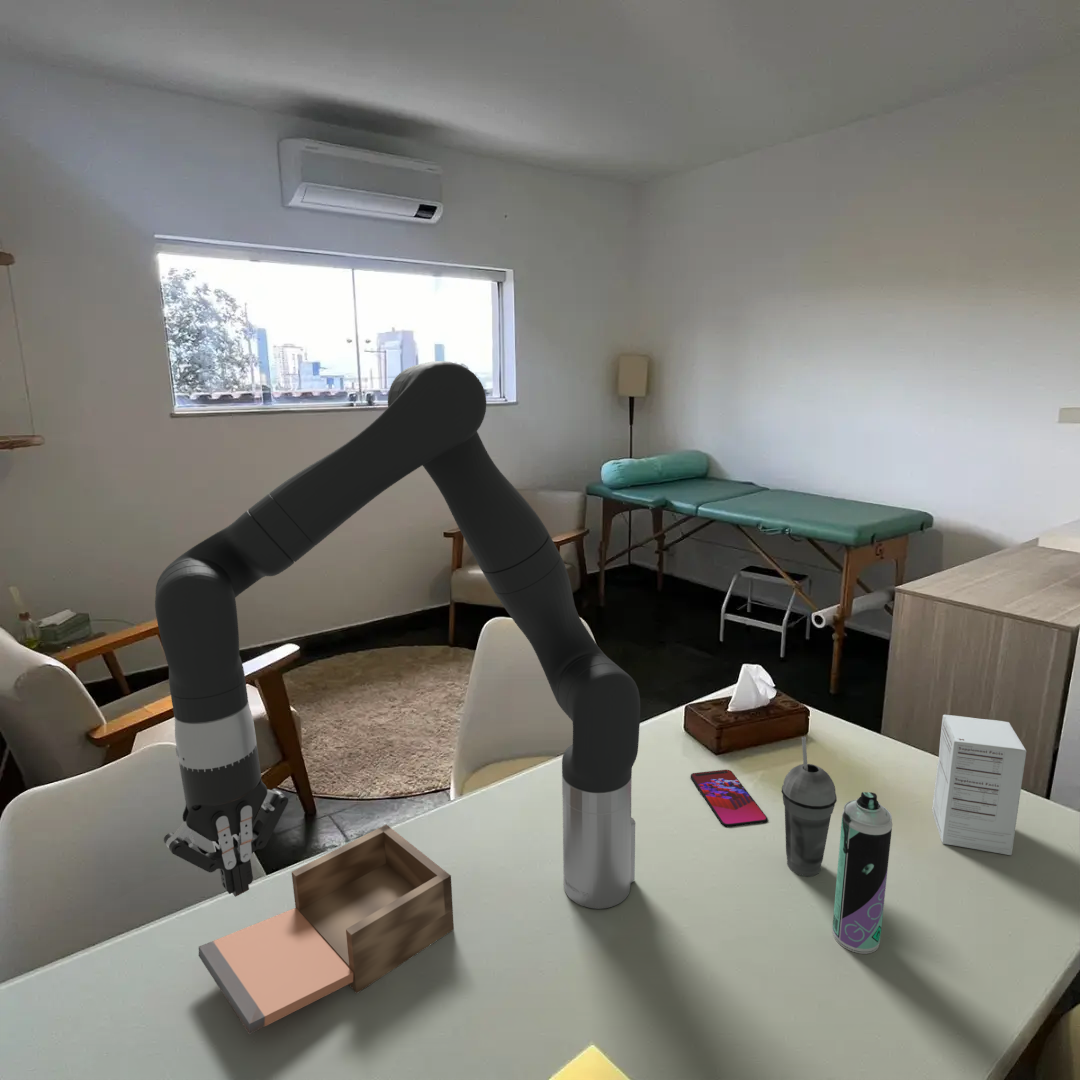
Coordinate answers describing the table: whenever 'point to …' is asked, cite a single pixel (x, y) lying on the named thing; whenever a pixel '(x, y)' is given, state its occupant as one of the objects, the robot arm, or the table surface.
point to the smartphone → (728, 798)
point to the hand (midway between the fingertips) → (239, 889)
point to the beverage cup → (807, 815)
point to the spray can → (862, 874)
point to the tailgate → (274, 968)
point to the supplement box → (978, 783)
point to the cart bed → (375, 902)
